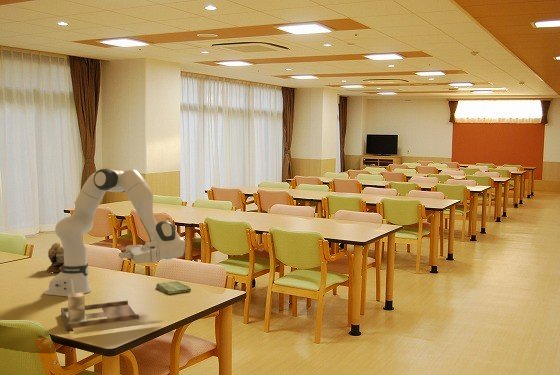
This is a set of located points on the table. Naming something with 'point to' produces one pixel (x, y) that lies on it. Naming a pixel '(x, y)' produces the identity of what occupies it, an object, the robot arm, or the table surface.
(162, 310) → the table surface
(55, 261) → the owl figurine
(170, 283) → the washcloth
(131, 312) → the tray
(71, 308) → the maple block
